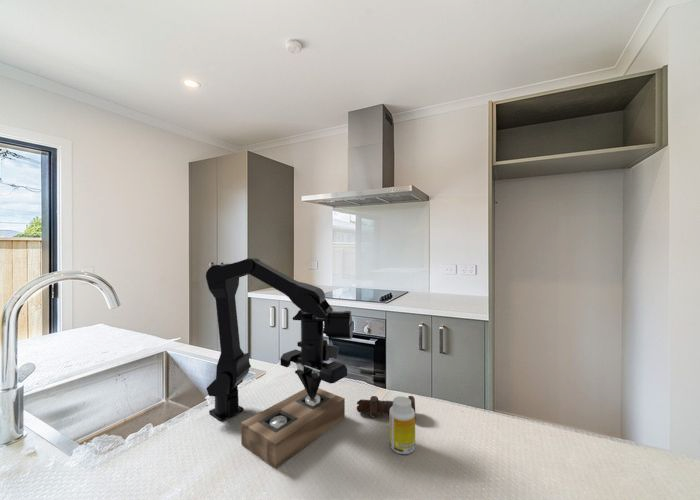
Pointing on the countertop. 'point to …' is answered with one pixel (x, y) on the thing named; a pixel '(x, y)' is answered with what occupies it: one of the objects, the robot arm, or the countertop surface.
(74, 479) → the countertop surface
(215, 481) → the countertop surface
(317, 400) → the peg short
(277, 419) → the peg tall
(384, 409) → the bolt
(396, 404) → the supplement bottle
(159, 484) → the countertop surface
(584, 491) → the countertop surface
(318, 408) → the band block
